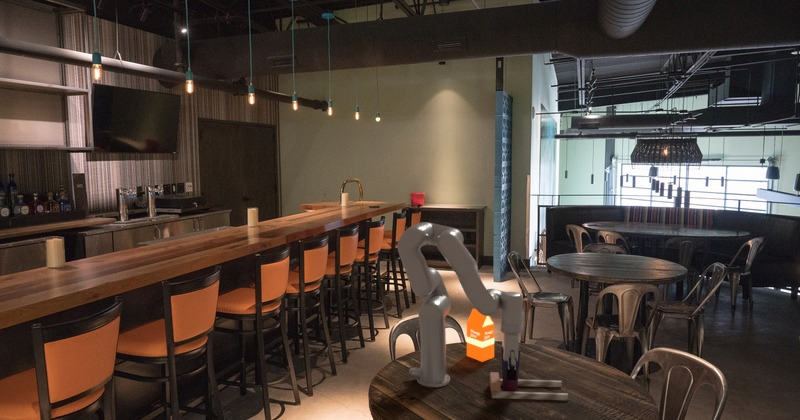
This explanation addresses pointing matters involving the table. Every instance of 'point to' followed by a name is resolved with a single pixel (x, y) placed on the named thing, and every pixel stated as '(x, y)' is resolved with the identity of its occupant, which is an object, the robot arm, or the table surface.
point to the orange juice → (480, 336)
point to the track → (497, 393)
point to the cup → (507, 384)
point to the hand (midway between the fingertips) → (510, 375)
